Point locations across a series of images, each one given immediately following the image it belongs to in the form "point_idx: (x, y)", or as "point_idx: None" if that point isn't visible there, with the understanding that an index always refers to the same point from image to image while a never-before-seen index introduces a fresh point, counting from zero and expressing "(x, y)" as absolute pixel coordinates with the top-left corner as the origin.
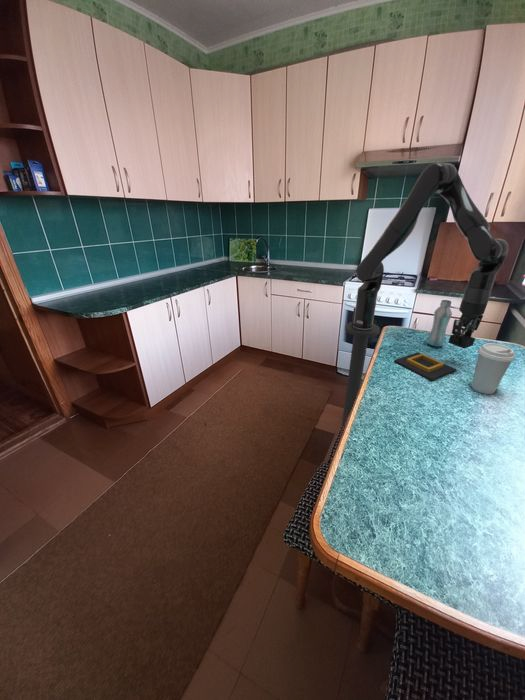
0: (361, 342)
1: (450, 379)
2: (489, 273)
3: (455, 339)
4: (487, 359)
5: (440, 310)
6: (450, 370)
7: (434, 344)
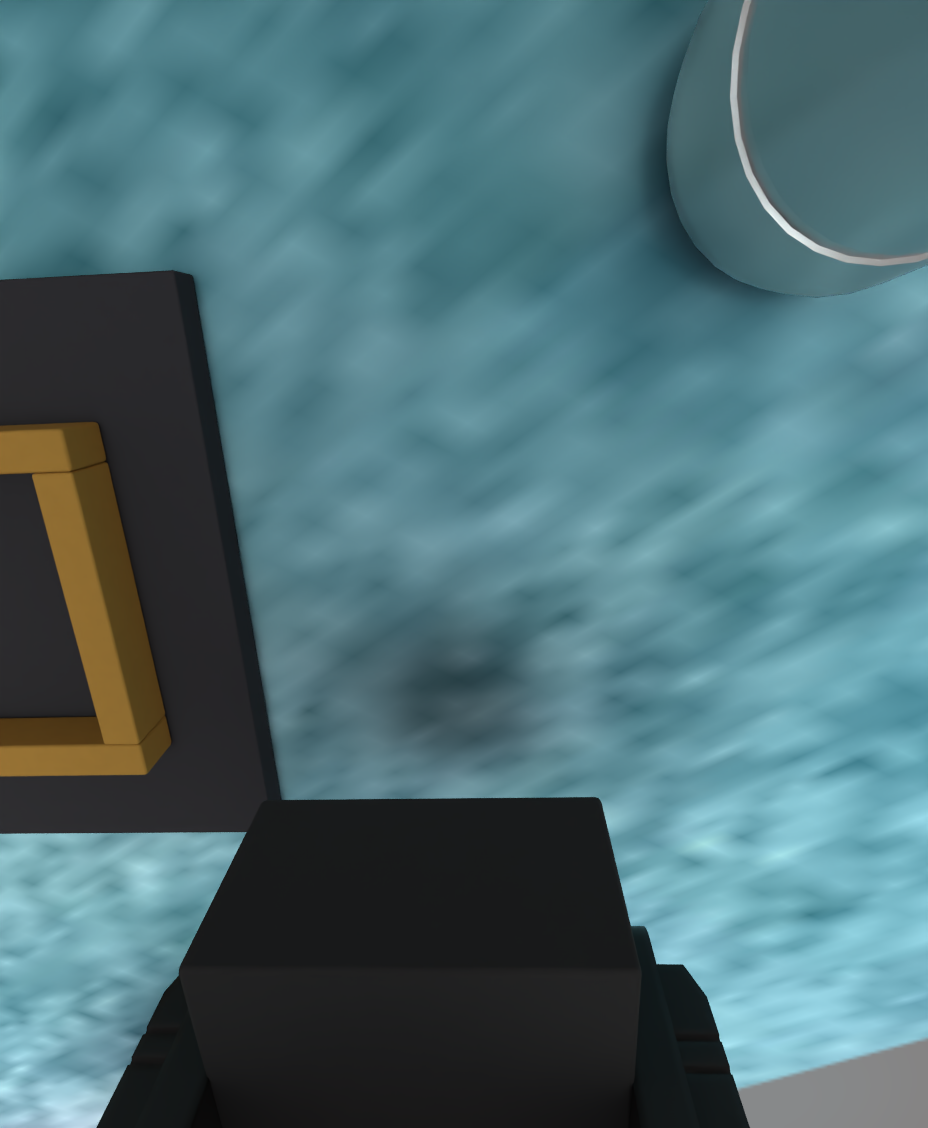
0: None
1: (98, 866)
2: None
3: (130, 1102)
4: None
5: None
6: (185, 819)
7: (677, 210)
